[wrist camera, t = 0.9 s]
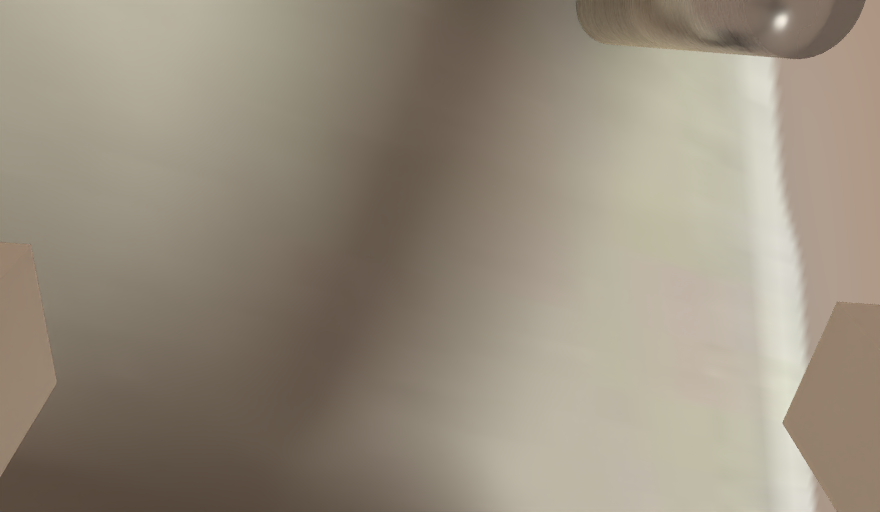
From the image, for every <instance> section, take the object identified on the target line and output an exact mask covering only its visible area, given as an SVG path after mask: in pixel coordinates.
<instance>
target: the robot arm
mask: <svg viewBox="0 0 880 512" xmlns="http://www.w3.org/2000/svg"><path fill="white" fill-rule="evenodd" d="M56 384H57V380H56V375H55V369H54V364H53V359H52V353H51V348H50V343H49V338H48V332H47V327H46V322H45V316H44V311H43V306H42V301H41V295H40V290H39V285H38V279H37V274H36V269H35V263H34V258H33V253H32V248H31V244H17V243H3V242H0V477H1V475H2V473H3V472H4V470H5V468H6V467H7V465H8V463H9V462H10V460H11V458H12V457H13V455H14V453H15V452H16V450H17V448H18V447H19V445H20V444H21V442H22V440H23V439H24V437H25V435H26V434H27V432H28V430H29V429H30V427H31V425H32V424H33V422H34V420H35V419H36V417H37V415H38V414H39V412H40V410H41V409H42V407H43V405H44V404H45V402H46V400H47V399H48V397H49V395H50V394H51V392H52V390H53V389H54V387H55V385H56ZM783 425H784V426H785V428H786V430H787V431H788V433H789V435H790V436H791V438H792V439H793V441H794V443H795V444H796V446H797V448H798V449H799V451H800V452H801V454H802V456H803V457H804V459H805V461H806V462H807V464H808V466H809V467H810V469H811V470H812V472H813V474H814V475H815V477H816V479H817V480H818V482H819V483H820V485H821V486H822V488H823V490H824V491H825V493H826V495H827V496H828V498H829V500H830V501H831V503H832V505H833V506H834V508H835V509H836V510H837V512H880V305H875V304H862V303H847V302H837V303H836V305H835V307H834V309H833V312H832V314H831V316H830V319H829V321H828V323H827V325H826V327H825V330H824V332H823V334H822V336H821V339H820V341H819V343H818V345H817V347H816V349H815V352H814V354H813V356H812V358H811V361H810V363H809V365H808V367H807V369H806V372H805V374H804V376H803V378H802V381H801V383H800V385H799V387H798V389H797V392H796V394H795V396H794V398H793V400H792V403H791V405H790V407H789V409H788V412H787V414H786V416H785V418H784V420H783Z"/></svg>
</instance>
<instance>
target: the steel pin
mask: <svg viewBox="0 0 880 512" xmlns="http://www.w3.org/2000/svg"><path fill="white" fill-rule="evenodd" d="M864 3H865V0H577V15H578V19H579V22H580V24H581V26H582V28H583V29H584V31H585V32H586V33H587V34H588V35H589V36H590V37H591V38H593V39H594V40H596V41H598V42H601V43H604V44H611V45H624V46H637V47H649V48H662V49H675V50H688V51H700V52H713V53H726V54H739V55H751V56H764V57H777V58H790V59H802V58H809V57H814V56H816V55H819V54H822V53H824V52H826V51H827V50H829V49H831V48H832V47H834V46H835V45H836V44H838V43H839V42H840V41H841V40H842V39H843V38H844V37H845V36H846V35H847V34H848V33H849V32H850V30H851V29H852V27H853V26H854V25H855V23H856V21H857V20H858V18H859V16H860V14H861V11H862V9H863V7H864Z"/></svg>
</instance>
